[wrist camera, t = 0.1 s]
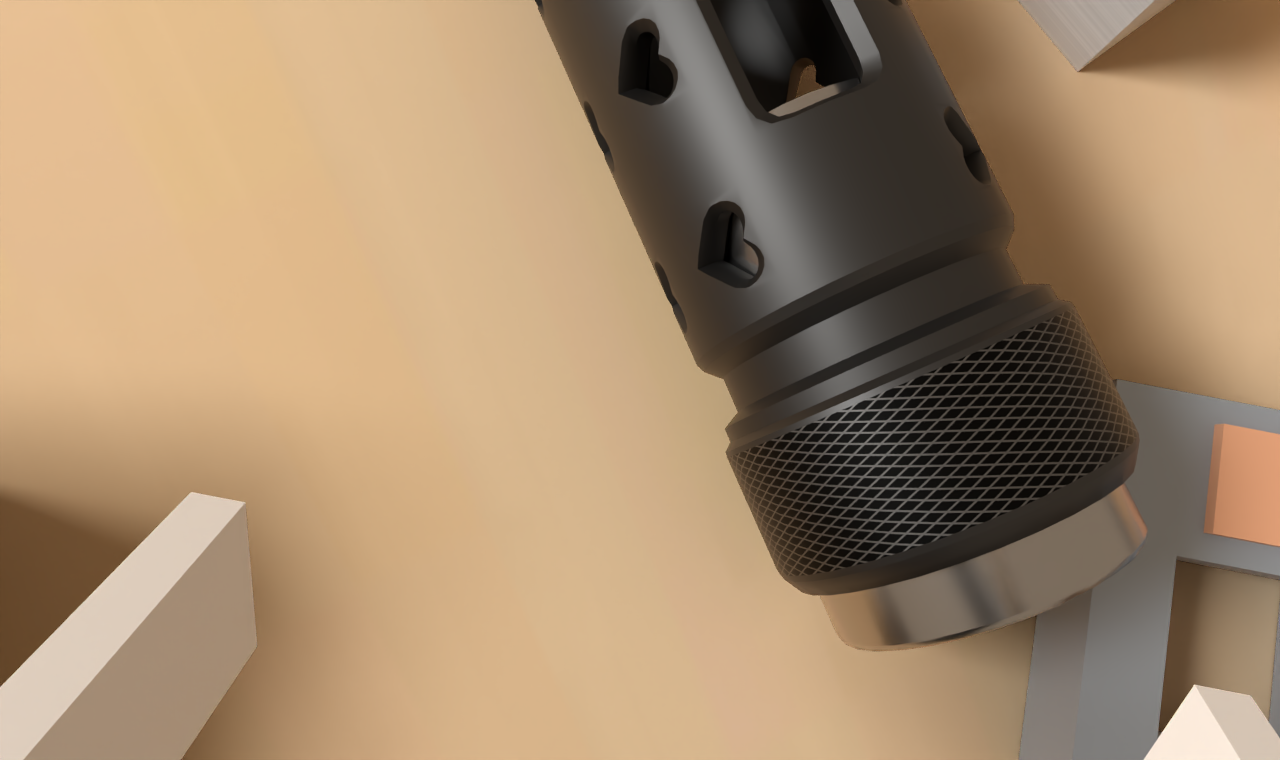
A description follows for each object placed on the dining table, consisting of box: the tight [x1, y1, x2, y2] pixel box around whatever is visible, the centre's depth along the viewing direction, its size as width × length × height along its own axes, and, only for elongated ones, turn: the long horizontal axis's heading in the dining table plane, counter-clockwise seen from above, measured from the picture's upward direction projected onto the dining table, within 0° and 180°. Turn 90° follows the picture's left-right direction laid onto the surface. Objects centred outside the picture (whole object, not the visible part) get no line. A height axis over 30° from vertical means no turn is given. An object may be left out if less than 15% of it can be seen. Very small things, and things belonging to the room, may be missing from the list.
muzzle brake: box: [535, 0, 1148, 651], centre depth 24 cm, size 10×28×10 cm, turn 23°
